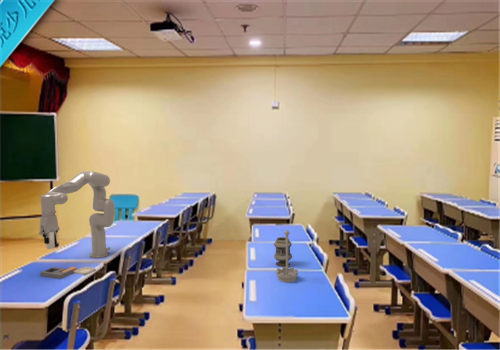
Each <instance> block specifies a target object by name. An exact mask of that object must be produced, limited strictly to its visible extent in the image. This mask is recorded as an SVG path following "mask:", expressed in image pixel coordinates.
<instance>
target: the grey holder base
mask: <svg viewBox="0 0 500 350" xmlns="http://www.w3.org/2000/svg"><path fill="white" fill-rule="evenodd" d="M66 269H67V268H65V267H64V268H62V267H56V266H53V267H51V268H48V269H45V270H43V271H40V277H43V278H49V279H50V278H52V279H55V280H57V279H58V280H63V279H64V278H67V277H68V276H69V277H70V276H71V275H73V274H74V272H73V270H68V271H66V272H64V273H63V272H62V271H64V270H66Z"/></svg>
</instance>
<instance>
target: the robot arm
mask: <svg viewBox="0 0 500 350" xmlns="http://www.w3.org/2000/svg"><path fill="white" fill-rule="evenodd" d="M110 183H111V179H110V177H109V175H108V174H104V173H100V172H96V171H90V170H89V171H87V170H86V171H81V172H79V173H78V174H76V175H75V176H74V177H72V178H71V179H70V180H68V181H66V182H64V183H61V184H59V185H56V186H55V187H53V188H51V189H50V190H49V191H48V192H46V194H42V195H40V206H41V209H40V210H41V217H40V219H39V234H38V235H40V236H41V237H42V238H43V239H44V240H43V243H44V244H45V245H46V244H49V237H48V233H49V232H50V231H52V230H54V241H55V242H57V235H58V233H59V231H60V229H61V228H60V227H59V222H58V218H57V215H56V213H57V211H56V205H63V204H65V203H67V202H68V197H69V196H68V194H73V193H76V192H78V191H79V190H81V189H82V188H83V187H84V186H85V185H87V184H88V185H89V186H90V187H91V188H92V190H93V199H92V209H93V210H94V211H95V213H92V214H91V215H90V216H89V219H88V220H89V226H90V230H91V231H90V232H91V250H92V251H91V254H90V255H89V257H90V258H91V259H98V258H99V259H100V258H101V259H102V258H105V257H107V256H109V251H110V250H111V247H110V246H109V247H108V246H107V237H106V229H105V228H110V227H111V226H113V223H114V219H115V209H116V204H115V201H113V200H112V199H111V198H107V189H106V187H108V186H109V185H110ZM98 212H101V213H98ZM102 212H103V213H102Z"/></svg>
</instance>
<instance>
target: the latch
mask: <svg viewBox="0 0 500 350" xmlns="http://www.w3.org/2000/svg"><path fill="white" fill-rule="evenodd" d="M65 269H66V270H64V271H62V272H63V273H64V272H66V271H68V270H73V273H74V271H76V270H78V267H77V266H71V267H69V268H65Z"/></svg>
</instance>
